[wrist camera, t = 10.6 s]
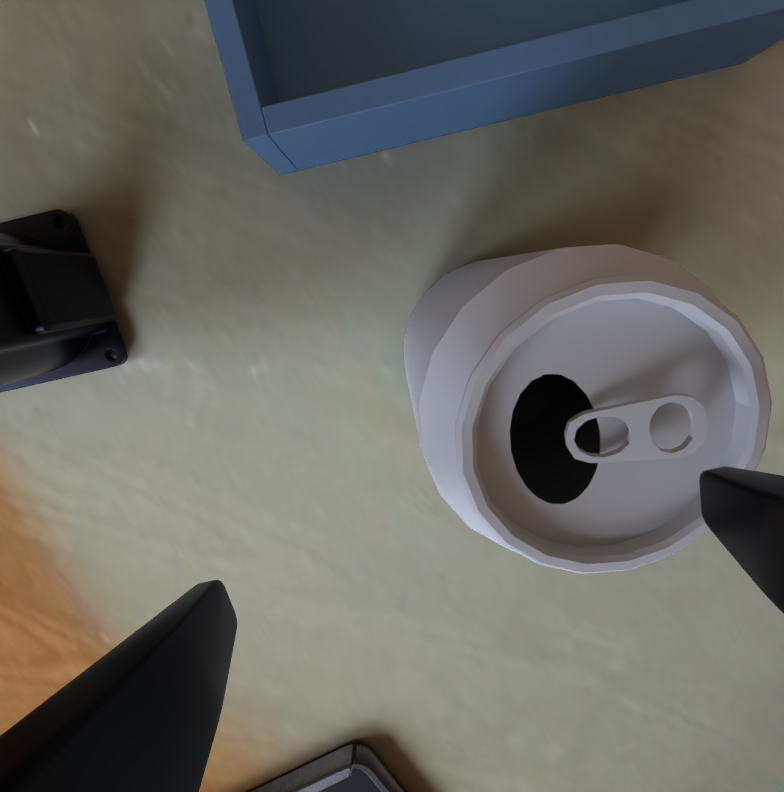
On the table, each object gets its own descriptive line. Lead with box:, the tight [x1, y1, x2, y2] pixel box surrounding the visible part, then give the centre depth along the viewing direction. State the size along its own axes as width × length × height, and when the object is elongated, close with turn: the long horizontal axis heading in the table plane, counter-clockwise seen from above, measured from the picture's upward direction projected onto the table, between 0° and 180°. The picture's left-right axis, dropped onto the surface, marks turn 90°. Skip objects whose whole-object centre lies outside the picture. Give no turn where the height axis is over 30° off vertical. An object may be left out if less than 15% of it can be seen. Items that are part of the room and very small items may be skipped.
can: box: [404, 244, 772, 574], centre depth 15 cm, size 8×8×12 cm
